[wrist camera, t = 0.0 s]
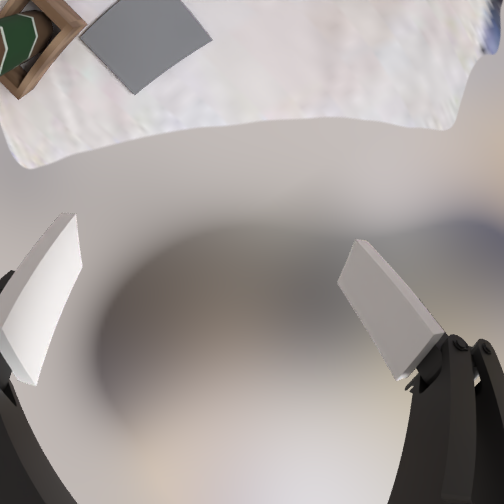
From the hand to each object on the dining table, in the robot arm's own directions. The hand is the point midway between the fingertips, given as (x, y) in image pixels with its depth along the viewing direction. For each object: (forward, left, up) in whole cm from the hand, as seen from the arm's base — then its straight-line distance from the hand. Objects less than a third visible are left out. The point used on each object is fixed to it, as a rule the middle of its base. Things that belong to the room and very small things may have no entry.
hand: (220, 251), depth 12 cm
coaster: (+4, -11, -28) cm, 30 cm away
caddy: (+14, -24, -28) cm, 39 cm away
